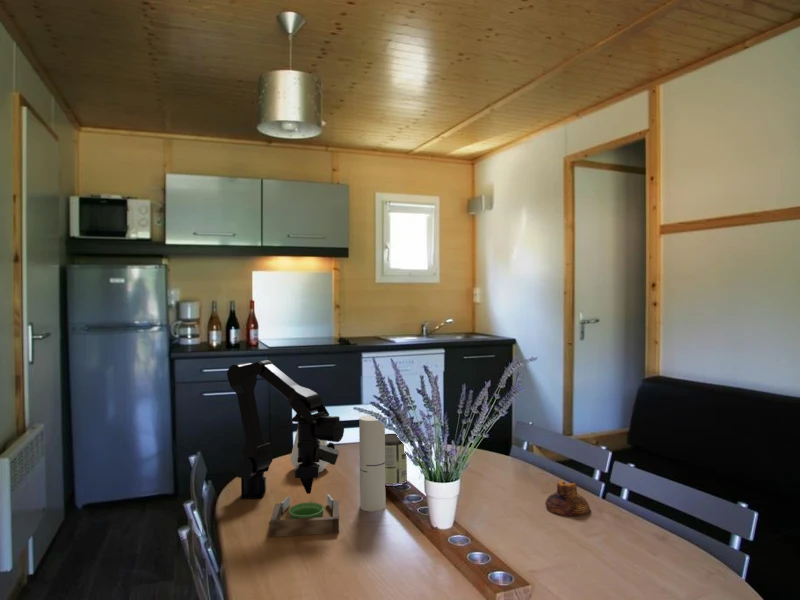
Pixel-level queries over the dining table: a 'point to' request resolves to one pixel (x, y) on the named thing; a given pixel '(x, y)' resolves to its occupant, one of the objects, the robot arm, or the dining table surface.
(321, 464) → the cup
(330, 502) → the bar
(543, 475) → the dining table surface
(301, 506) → the ramekin
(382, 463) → the cylindrical container
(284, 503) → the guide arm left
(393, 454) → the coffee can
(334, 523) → the walnut dock
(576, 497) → the brown rounded necked piece
